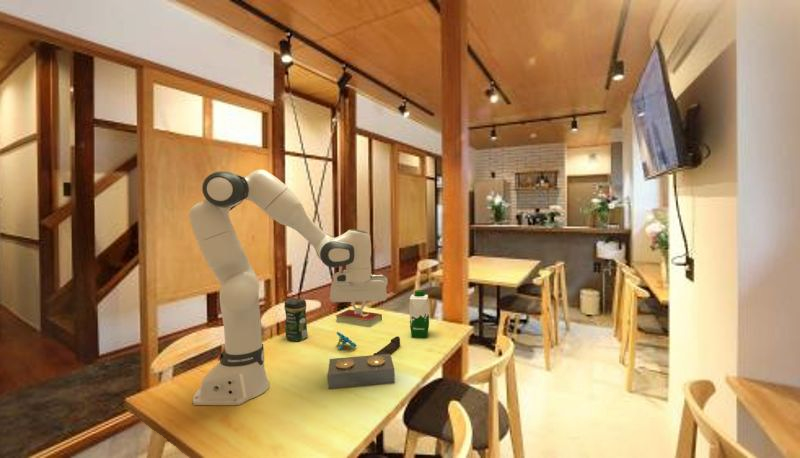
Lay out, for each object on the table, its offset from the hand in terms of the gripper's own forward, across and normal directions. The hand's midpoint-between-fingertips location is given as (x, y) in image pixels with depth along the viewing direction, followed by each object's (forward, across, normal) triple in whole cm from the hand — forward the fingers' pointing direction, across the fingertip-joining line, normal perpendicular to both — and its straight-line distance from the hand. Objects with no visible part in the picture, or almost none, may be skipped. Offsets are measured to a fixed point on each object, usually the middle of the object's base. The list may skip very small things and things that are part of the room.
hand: (358, 313), depth 126 cm
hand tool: (+22, -12, -15) cm, 29 cm away
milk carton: (+21, -28, -32) cm, 47 cm away
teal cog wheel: (+22, +5, -24) cm, 33 cm away
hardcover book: (+22, -1, -57) cm, 61 cm away
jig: (+22, -1, +4) cm, 22 cm away
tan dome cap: (+20, -6, +4) cm, 21 cm away
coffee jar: (+23, +28, -39) cm, 53 cm away
